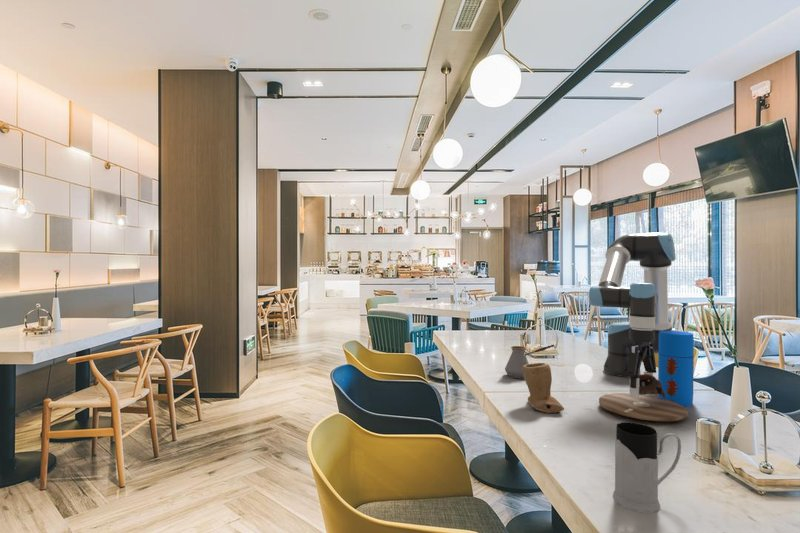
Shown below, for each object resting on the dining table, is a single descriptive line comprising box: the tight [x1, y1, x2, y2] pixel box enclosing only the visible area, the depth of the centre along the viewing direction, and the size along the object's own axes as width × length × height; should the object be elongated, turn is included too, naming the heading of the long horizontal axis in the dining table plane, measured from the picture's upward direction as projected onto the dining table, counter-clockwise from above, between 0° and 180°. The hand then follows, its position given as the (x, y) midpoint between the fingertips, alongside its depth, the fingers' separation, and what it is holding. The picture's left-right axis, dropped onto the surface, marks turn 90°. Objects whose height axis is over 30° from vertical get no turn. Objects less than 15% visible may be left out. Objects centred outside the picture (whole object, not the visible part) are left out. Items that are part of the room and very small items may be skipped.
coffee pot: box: [504, 344, 556, 379], centre depth 190 cm, size 21×12×15 cm, turn 71°
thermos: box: [657, 330, 695, 407], centre depth 157 cm, size 11×11×25 cm
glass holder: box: [612, 421, 682, 513], centre depth 90 cm, size 9×14×15 cm, turn 95°
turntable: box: [598, 392, 689, 422], centre depth 145 cm, size 26×26×1 cm
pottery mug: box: [638, 373, 665, 398], centre depth 145 cm, size 12×10×8 cm
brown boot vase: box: [523, 362, 565, 414], centre depth 150 cm, size 15×12×15 cm
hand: (641, 394), depth 145 cm, fingers closed on pottery mug, 11 cm apart
